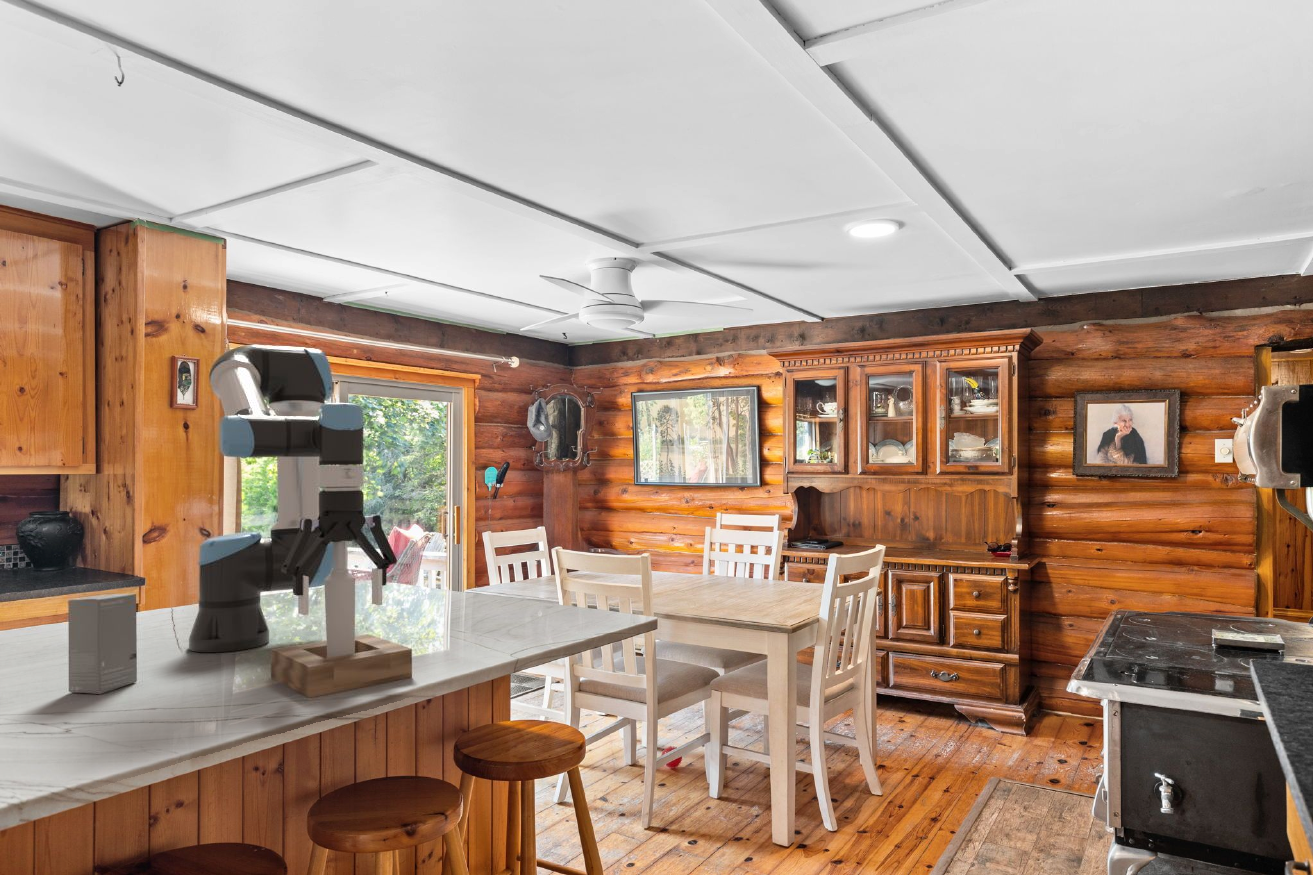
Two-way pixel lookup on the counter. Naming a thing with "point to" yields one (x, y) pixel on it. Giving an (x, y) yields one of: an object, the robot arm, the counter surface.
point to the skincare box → (102, 643)
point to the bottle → (340, 606)
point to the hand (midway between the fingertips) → (341, 609)
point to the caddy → (340, 666)
